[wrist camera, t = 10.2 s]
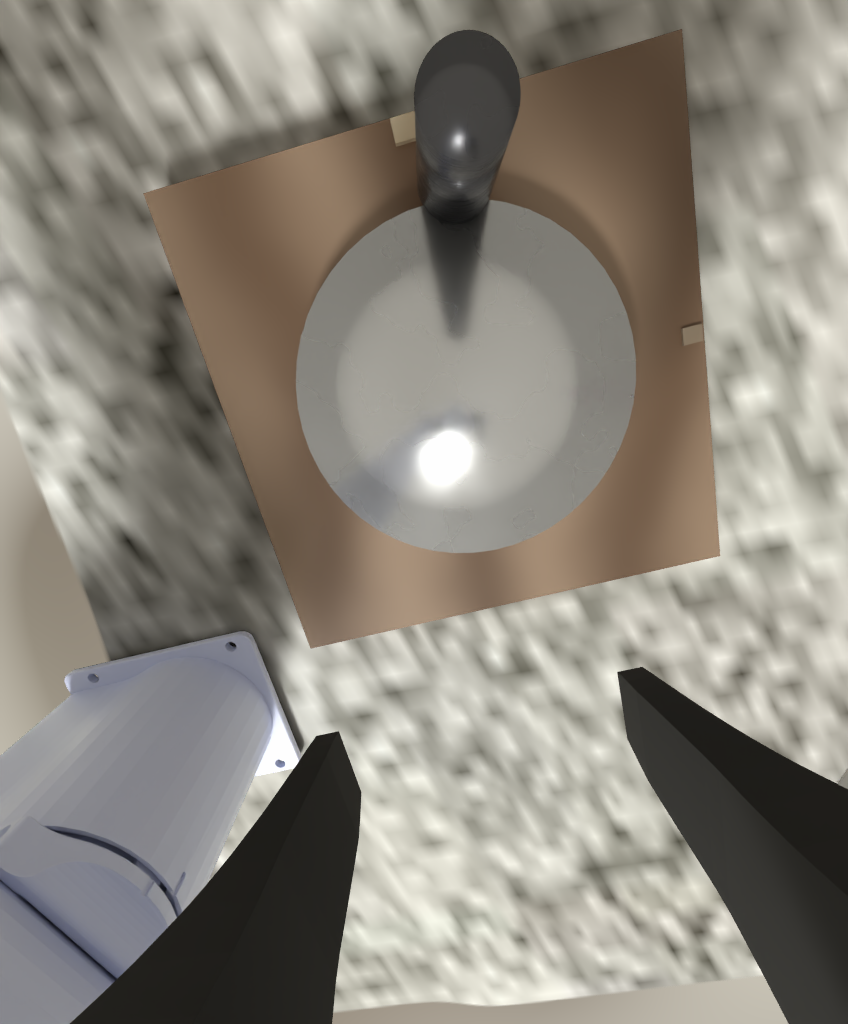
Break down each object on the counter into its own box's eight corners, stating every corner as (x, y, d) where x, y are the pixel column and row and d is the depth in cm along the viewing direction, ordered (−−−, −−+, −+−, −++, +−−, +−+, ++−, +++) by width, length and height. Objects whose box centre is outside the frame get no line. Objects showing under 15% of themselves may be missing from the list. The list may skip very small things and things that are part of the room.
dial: (616, 533, 18) (687, 585, 13) (326, 554, 18) (291, 613, 13) (634, 124, 14) (744, -15, 9) (268, 158, 14) (190, 39, 9)
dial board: (318, 630, 21) (309, 650, 19) (169, 211, 16) (139, 190, 14) (698, 543, 19) (723, 557, 18) (656, 64, 15) (685, 23, 13)
